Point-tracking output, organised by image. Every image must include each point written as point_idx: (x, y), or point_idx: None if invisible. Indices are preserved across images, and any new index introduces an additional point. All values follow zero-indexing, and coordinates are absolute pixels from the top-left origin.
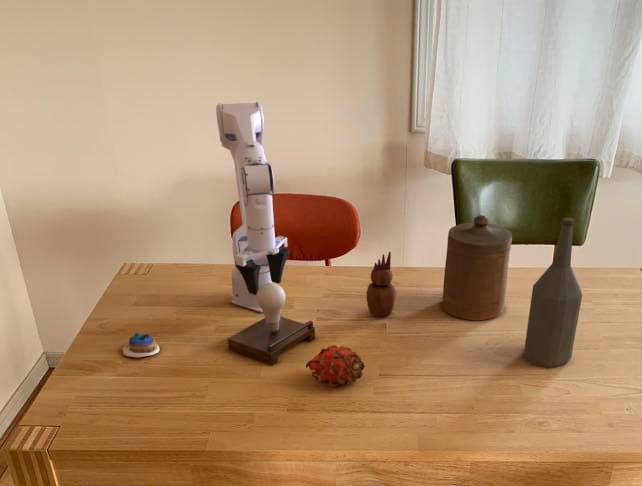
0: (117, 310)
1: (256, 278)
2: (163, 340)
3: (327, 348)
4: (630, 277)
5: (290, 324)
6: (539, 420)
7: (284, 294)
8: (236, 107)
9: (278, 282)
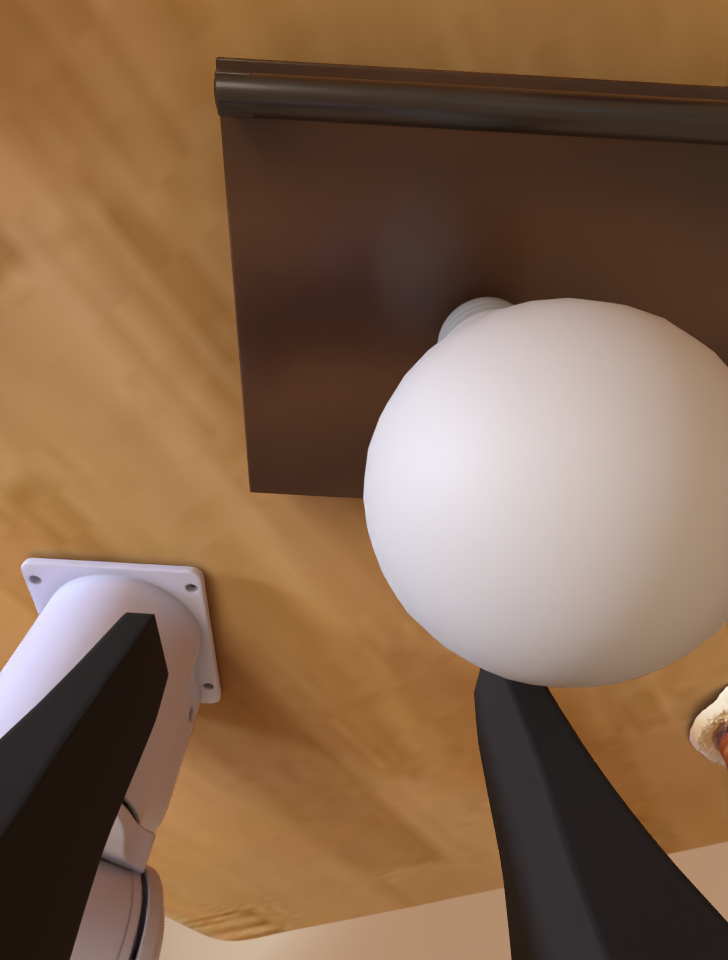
0: (493, 867)
1: (603, 824)
2: (645, 707)
3: None
4: None
5: (305, 297)
6: None
7: (504, 358)
8: None
9: (151, 625)
